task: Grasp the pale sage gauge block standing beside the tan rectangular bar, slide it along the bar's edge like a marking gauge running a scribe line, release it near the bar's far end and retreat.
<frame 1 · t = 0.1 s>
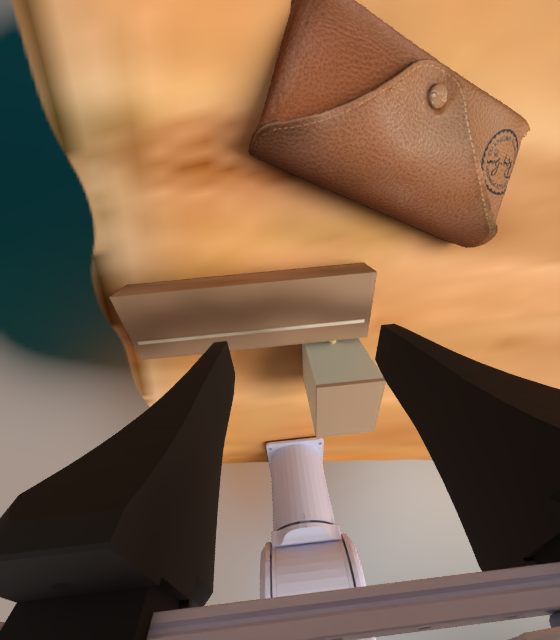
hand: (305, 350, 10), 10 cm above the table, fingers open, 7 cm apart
tan rectangular bar: (251, 305, 20), on the table
gauge block: (325, 353, 24), on the table
sunglasses case: (388, 142, 15), on the table
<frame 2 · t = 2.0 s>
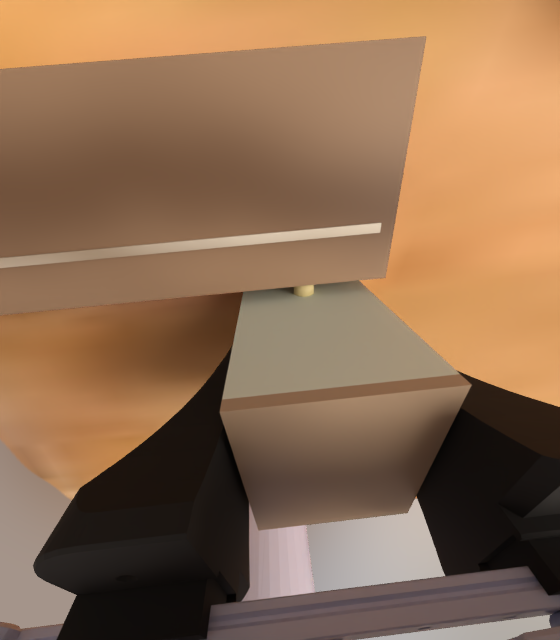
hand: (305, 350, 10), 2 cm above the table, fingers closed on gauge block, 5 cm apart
tan rectangular bar: (117, 208, 9), on the table
gauge block: (299, 328, 12), on the table, touching gripper
when the fingers open (2 cm above the table, at t = 6.7 s): gauge block stays where it is, on the table.
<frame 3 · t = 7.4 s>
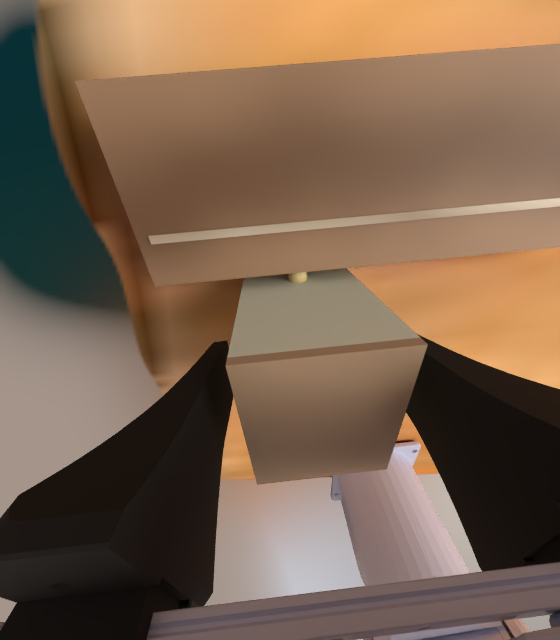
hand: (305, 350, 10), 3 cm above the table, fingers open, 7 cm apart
tan rectangular bar: (378, 181, 10), on the table
gauge block: (294, 315, 13), on the table
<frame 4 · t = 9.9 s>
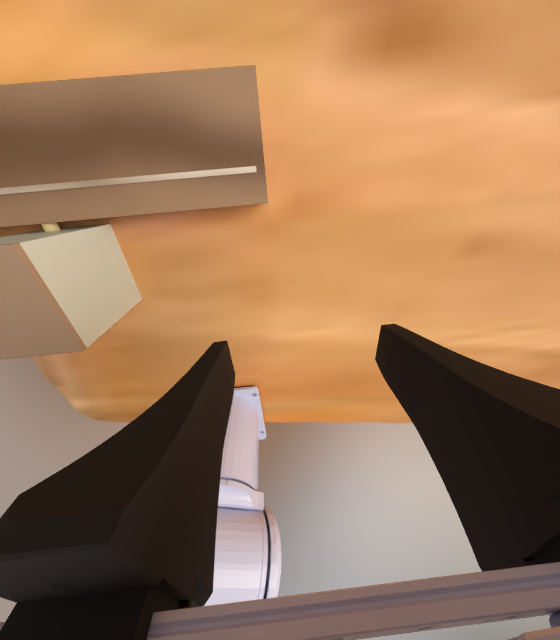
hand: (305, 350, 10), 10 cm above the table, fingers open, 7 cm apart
tan rectangular bar: (108, 163, 14), on the table
gauge block: (96, 267, 18), on the table
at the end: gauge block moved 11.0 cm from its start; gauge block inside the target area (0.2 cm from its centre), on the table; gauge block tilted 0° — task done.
